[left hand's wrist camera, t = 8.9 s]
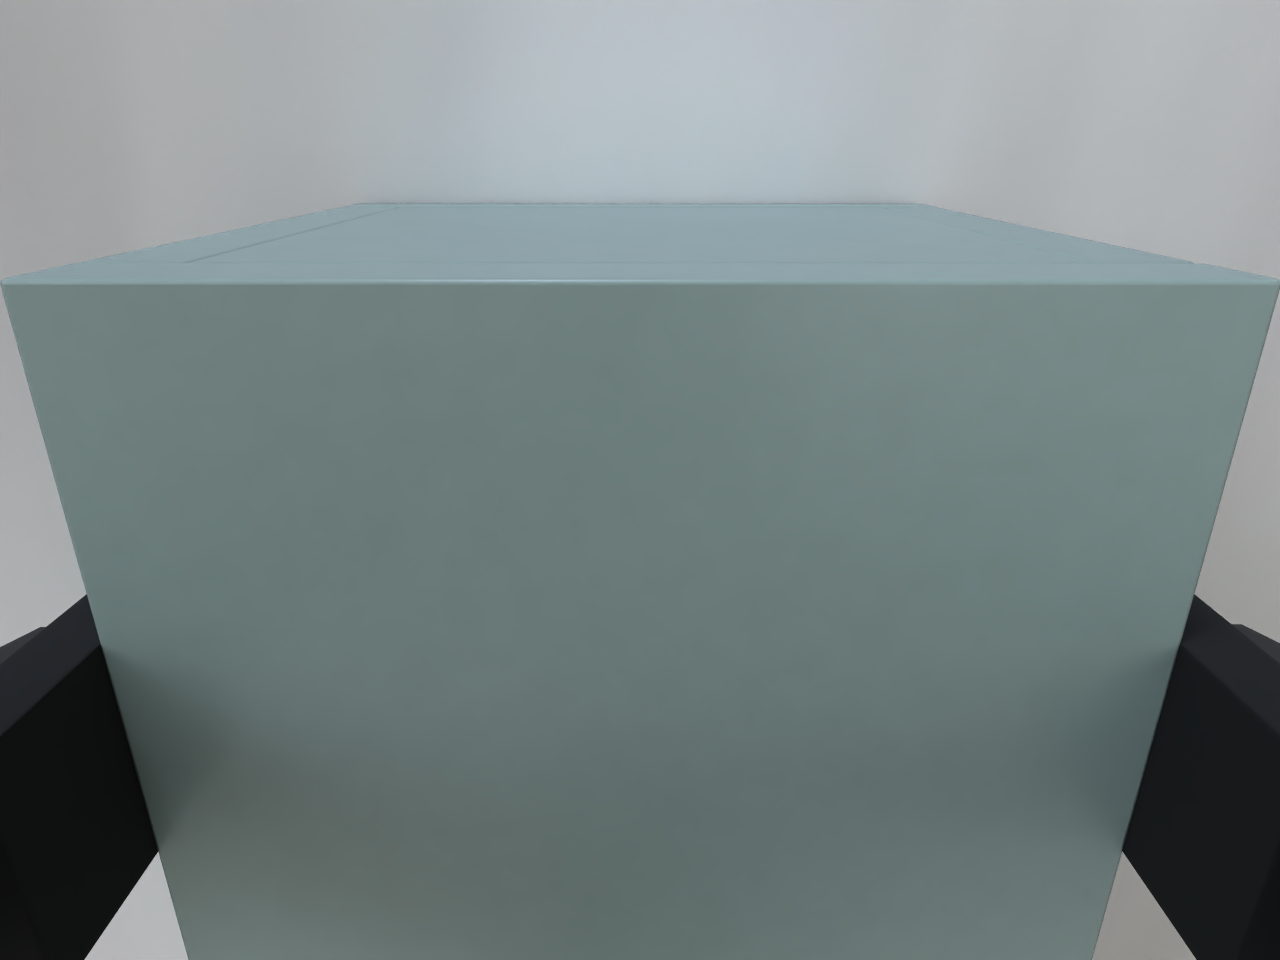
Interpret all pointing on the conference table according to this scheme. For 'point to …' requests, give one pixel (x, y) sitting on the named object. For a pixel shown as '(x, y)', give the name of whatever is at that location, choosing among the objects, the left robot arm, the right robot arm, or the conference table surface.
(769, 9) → the conference table surface
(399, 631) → the cabinet
